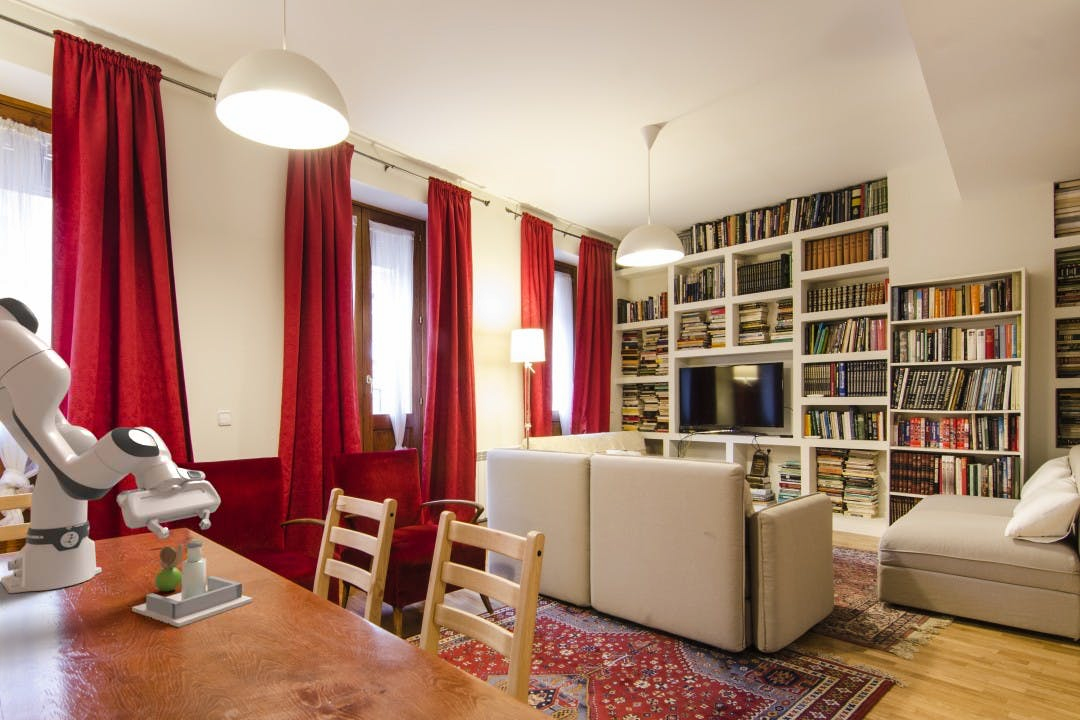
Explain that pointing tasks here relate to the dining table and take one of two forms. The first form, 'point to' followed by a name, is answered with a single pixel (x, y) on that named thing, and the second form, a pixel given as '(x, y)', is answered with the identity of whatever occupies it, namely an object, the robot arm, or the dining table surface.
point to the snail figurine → (169, 568)
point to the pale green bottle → (193, 571)
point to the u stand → (194, 603)
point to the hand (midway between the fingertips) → (186, 531)
